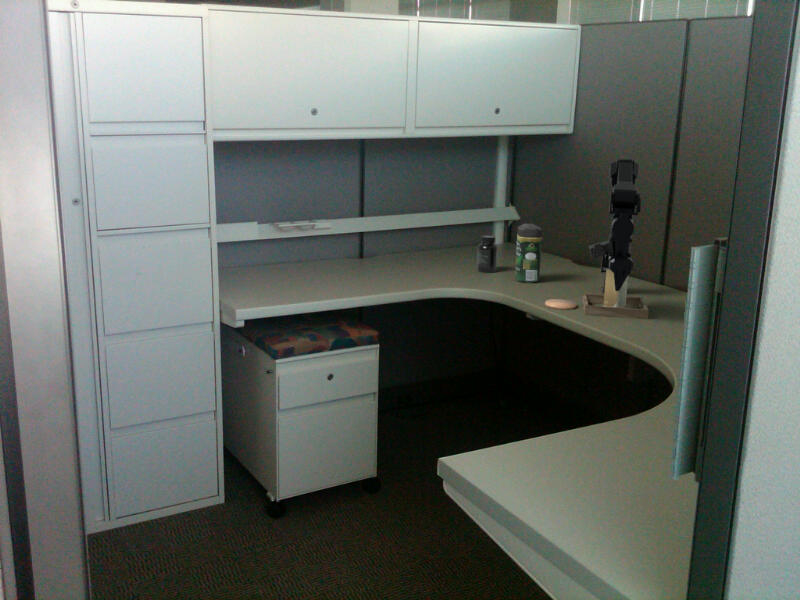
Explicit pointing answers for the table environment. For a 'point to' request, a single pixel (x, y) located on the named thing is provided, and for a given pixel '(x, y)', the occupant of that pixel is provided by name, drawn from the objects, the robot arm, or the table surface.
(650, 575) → the table surface
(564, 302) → the peach flat disc
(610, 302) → the skincare box
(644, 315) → the brown wooden frame
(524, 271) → the coffee jar
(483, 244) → the supplement bottle
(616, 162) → the robot arm
